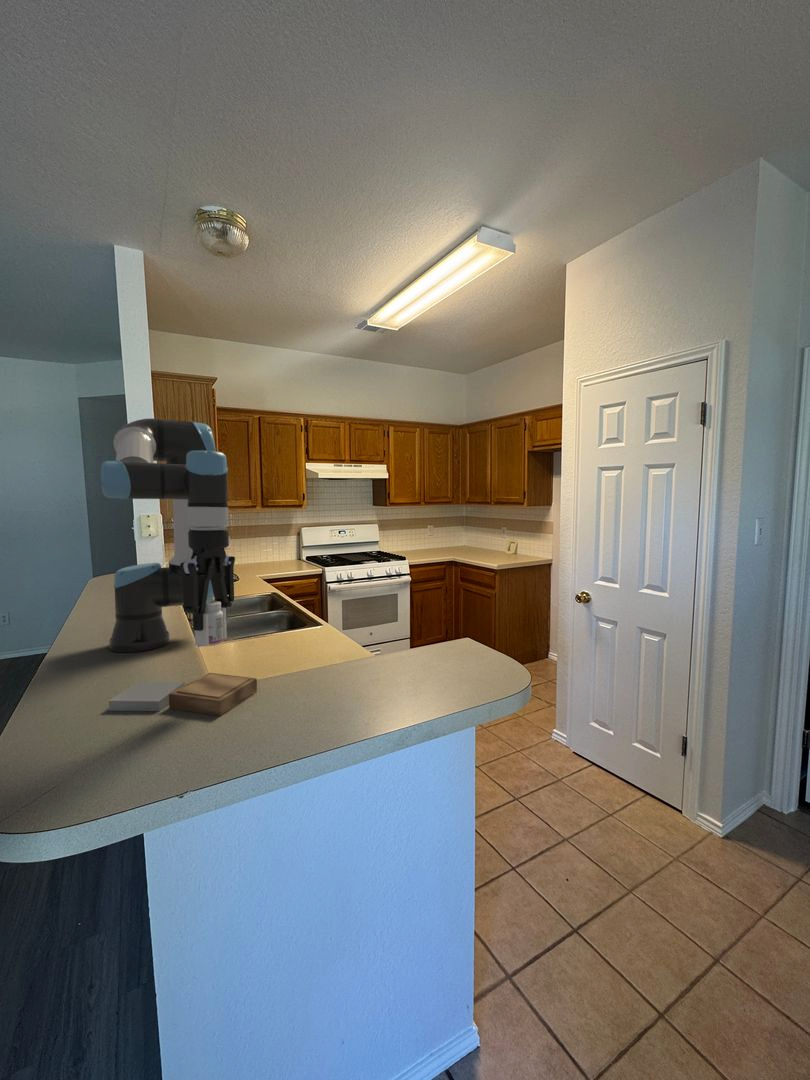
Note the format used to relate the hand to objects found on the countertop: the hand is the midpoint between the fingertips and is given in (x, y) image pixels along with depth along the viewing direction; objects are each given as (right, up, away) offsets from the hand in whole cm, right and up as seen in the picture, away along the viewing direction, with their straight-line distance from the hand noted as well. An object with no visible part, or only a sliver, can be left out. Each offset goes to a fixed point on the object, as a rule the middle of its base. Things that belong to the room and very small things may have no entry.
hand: (211, 641), depth 94 cm
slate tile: (-13, -12, +1) cm, 18 cm away
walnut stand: (0, -13, +1) cm, 13 cm away
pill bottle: (0, -1, 0) cm, 1 cm away
